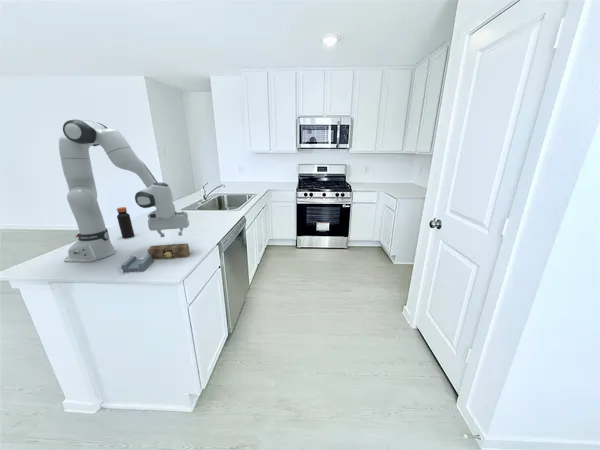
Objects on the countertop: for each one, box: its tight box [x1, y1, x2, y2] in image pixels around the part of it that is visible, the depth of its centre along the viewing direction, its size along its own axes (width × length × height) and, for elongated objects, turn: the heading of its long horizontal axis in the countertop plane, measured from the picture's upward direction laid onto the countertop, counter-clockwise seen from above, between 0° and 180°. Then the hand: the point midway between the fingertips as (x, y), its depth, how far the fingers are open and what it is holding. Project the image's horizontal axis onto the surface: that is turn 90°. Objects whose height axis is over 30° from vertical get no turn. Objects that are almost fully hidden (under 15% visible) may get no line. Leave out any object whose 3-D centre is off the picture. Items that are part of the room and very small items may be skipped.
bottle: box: [116, 206, 135, 239], centre depth 161 cm, size 7×7×20 cm
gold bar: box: [163, 250, 173, 260], centre depth 137 cm, size 12×4×4 cm, turn 10°
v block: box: [121, 254, 153, 274], centre depth 123 cm, size 10×10×4 cm
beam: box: [147, 242, 190, 261], centre depth 134 cm, size 19×5×6 cm, turn 100°
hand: (171, 236), depth 137 cm, fingers open, 8 cm apart
